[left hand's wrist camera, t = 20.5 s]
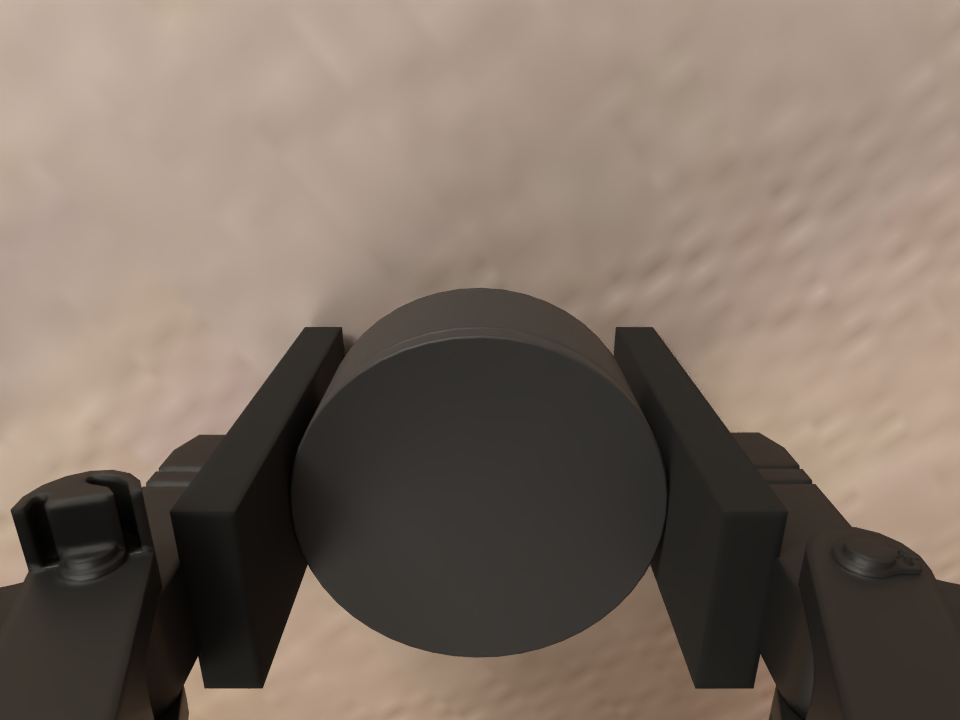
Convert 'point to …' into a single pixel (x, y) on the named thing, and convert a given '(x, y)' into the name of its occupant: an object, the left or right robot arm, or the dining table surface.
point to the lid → (479, 477)
